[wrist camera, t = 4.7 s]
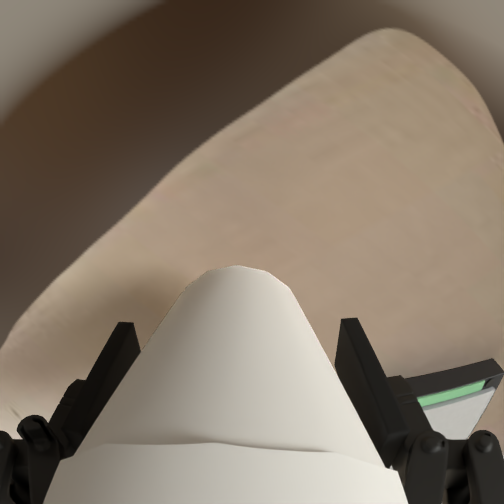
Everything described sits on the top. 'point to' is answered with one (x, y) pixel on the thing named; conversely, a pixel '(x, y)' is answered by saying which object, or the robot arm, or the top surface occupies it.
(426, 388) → the scale
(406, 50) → the top surface
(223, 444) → the foam cup
